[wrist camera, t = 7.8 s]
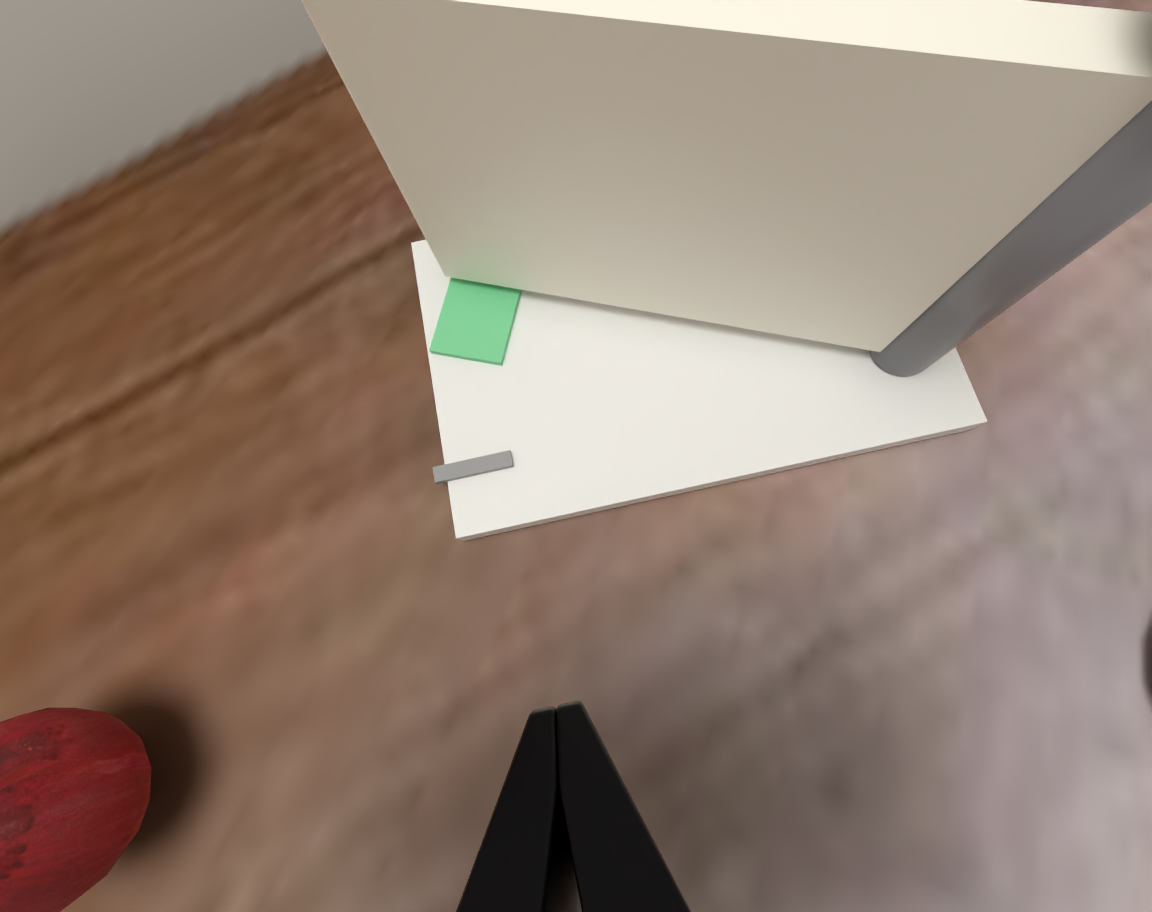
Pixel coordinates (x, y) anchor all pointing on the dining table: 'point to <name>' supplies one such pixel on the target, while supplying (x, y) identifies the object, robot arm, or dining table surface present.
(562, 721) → the robot arm
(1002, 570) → the dining table surface
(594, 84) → the hinged door panel
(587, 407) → the white base board
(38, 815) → the onion
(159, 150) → the dining table surface
